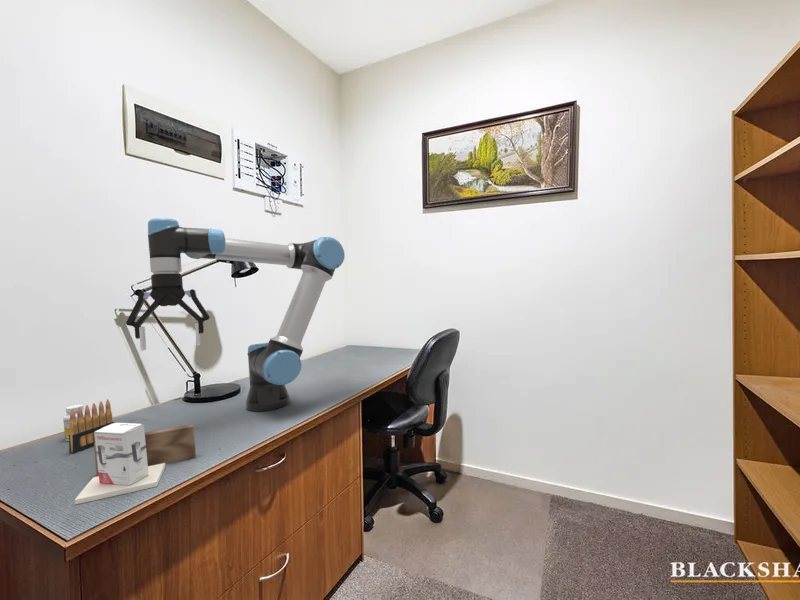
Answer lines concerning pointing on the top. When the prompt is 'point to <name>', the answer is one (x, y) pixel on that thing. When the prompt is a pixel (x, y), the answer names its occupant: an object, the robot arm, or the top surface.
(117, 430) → the ink box
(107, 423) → the ammunition clip
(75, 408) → the supplement bottle
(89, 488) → the pad
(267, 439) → the top surface
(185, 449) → the walnut screen
